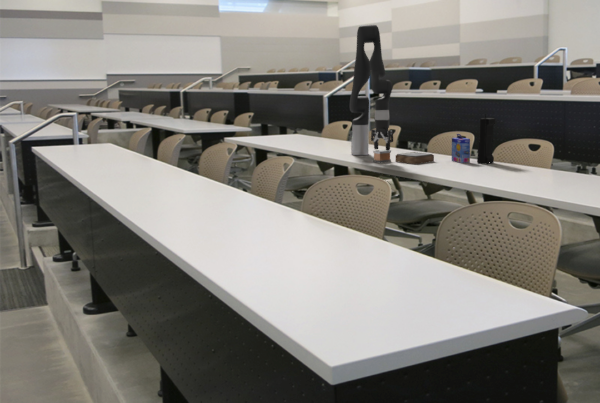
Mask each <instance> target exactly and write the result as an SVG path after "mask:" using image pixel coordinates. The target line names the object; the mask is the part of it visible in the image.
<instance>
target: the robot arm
mask: <svg viewBox="0 0 600 403" xmlns="http://www.w3.org/2000/svg"><path fill="white" fill-rule="evenodd" d="M380 35H381V33H380V29H379V27H378V26H377V24H364V25H359V27H358V28H357V31H356V52H355V61H354V68H353V80H352V87H351V92H350V99H349V111H350V112H351V113H354V114H358V113H361V115H359V116H358V117H355V118H354V119H352V127H351V128H352V132H351V133H352V137H351V138H350V139H351V142H350V143H351V145H350V147H351V148H350V149H351V152H350V153H351V155H352V156H353V155H354V156H367V155H369V148H370V147H369V146H370V145H369V142H370V141H369V132H371V134H370V140H371V142H373V148H374V150H379V140H381V139H383V141H384V142H385V150H386V151H388V150H391V143H394V131H393V130H389V128H390V99H391V95H392V92H393V82H392V81H391V80H389V79H382V78H384V77H385V76H386V69H385V65H384V61H383V54H382V43H381V36H380ZM371 43H373V51H372V53H371V57H370V59H369V57H368V55H367V54H366V51H365V44H371ZM370 78H371V91H372V92H373V94H376V95H382V97H379V98H377V99H376V100H374V101H375V102H374V103H375V104H374V105H375V106H374V107H375V108H374V109H375V111H374V128H375V129H371V131H369V122H370V120H369V119H370V118H369V117H370V98H369V97H368V96H366V95H360V96H359V94H360V92H361V90H362V88H363V87H364V86H365V85H366V84H367V83H368V82H369V79H370Z"/></svg>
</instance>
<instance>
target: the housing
mask: <svg viewBox="0 0 600 403" xmlns="http://www.w3.org/2000/svg"><path fill="white" fill-rule="evenodd" d="M372 152H373V153H372V154H373V157H374V158H373V161H372V162H373V163H377V162H380V163H379V164H382V163H381V162H383V163H389V162H390V163H391V161H392V159H391V152H392V150H391V149H390V150H388V151H386V149H376V150H372Z"/></svg>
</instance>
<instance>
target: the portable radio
mask: <svg viewBox="0 0 600 403" xmlns="http://www.w3.org/2000/svg"><path fill="white" fill-rule="evenodd" d="M495 124H496V118H494V117H487V113H485V116H484V117H481V118H479V129H478V130H479V131H478V136H479V138H478V139H479V140H478V147H477V157H476V158H477V159H476V162H477V164H480V163H489V162H493V163H494V162H495V161H494V158H495V157H494V156H493V151H494V150H493V148H494V145H493V144H494V125H495Z"/></svg>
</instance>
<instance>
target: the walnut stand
mask: <svg viewBox="0 0 600 403" xmlns="http://www.w3.org/2000/svg"><path fill="white" fill-rule="evenodd" d="M395 162H396V163H405V164H412V165H420V164H425V163H426V162H427V163H433V162H435V155H434V154H433V153H427V152H418V151H417V152H416V151H412V152H401V153H397V154H396V155H395Z"/></svg>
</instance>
